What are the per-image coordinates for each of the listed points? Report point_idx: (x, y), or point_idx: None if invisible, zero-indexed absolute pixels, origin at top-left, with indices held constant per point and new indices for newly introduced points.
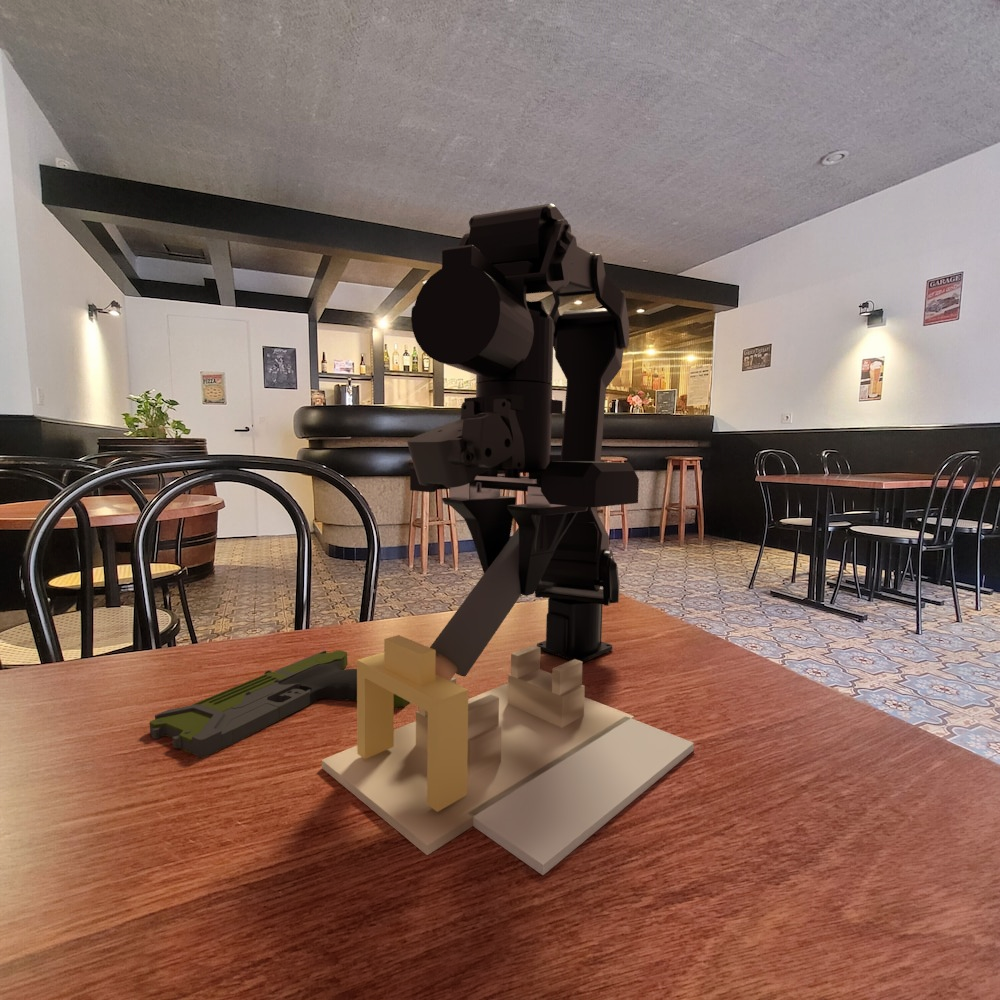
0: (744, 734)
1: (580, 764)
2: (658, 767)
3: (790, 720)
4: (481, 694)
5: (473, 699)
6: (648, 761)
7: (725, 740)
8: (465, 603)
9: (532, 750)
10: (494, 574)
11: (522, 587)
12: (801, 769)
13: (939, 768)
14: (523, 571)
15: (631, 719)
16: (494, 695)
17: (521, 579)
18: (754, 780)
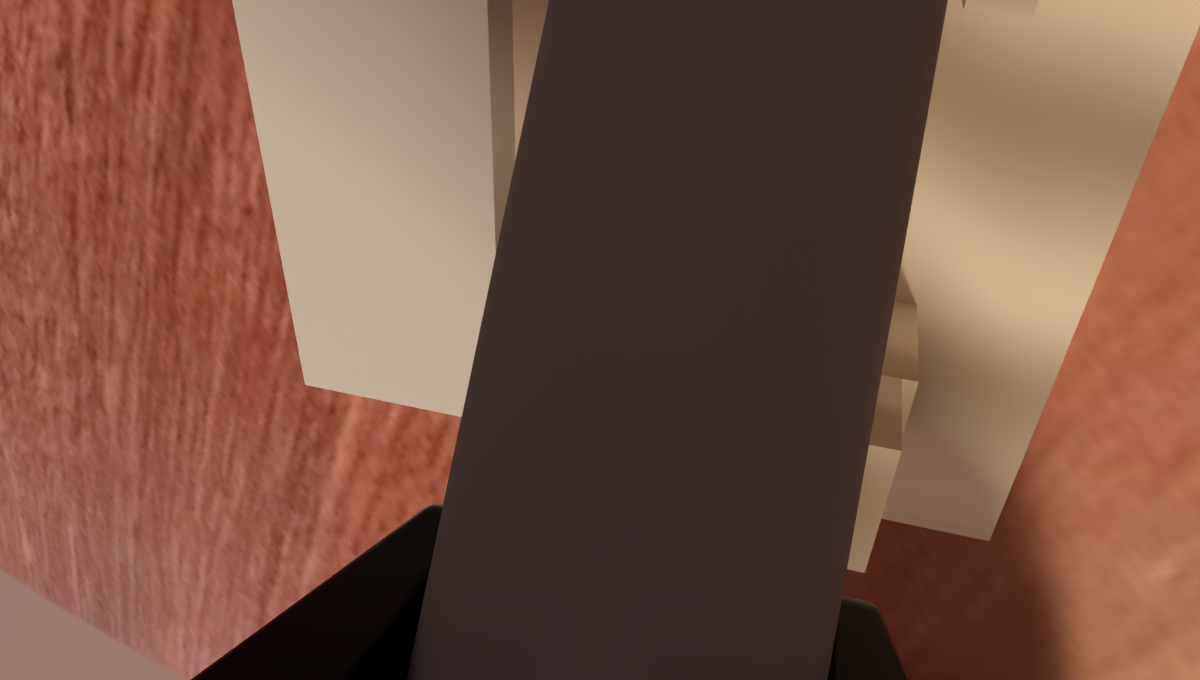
0: (289, 500)
1: (433, 85)
2: (281, 216)
3: (265, 599)
4: (1075, 312)
5: (1084, 257)
6: (319, 230)
7: (300, 454)
8: (749, 120)
9: None
10: (564, 548)
11: (417, 540)
12: (134, 415)
13: (16, 536)
14: (304, 636)
15: None
16: (1013, 335)
17: (388, 589)
18: (158, 321)
